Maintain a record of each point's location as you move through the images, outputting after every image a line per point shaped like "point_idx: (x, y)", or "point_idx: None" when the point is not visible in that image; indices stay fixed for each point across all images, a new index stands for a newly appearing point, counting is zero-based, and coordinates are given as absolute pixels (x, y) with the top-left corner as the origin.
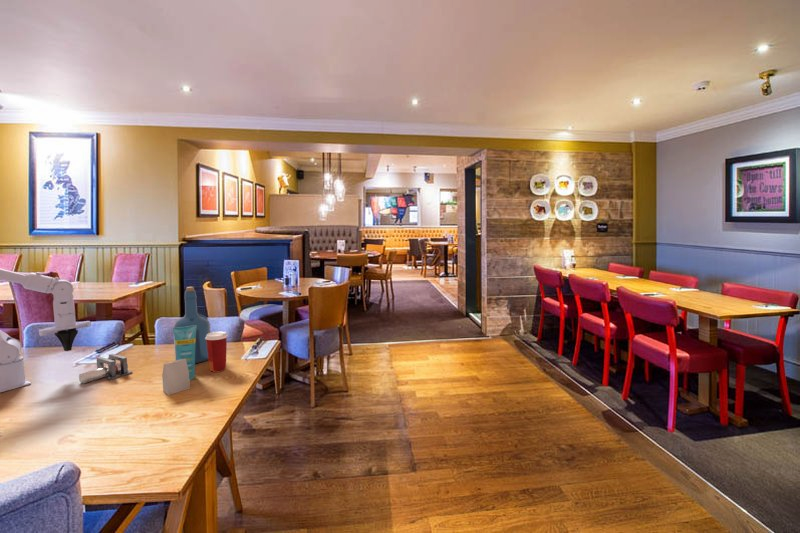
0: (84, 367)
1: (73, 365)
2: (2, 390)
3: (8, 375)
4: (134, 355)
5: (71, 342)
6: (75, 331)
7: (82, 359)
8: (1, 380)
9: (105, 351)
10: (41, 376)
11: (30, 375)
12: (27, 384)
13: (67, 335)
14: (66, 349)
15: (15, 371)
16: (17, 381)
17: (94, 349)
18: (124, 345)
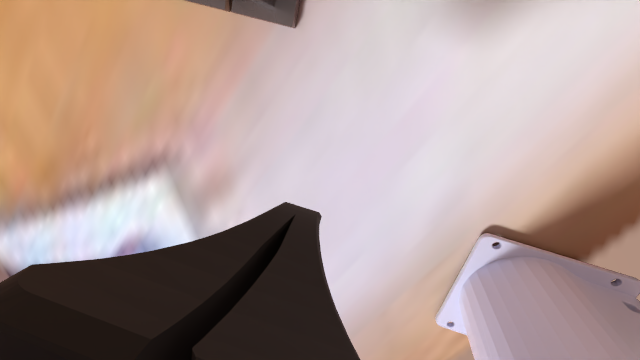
0: (233, 189)
1: None
2: (607, 275)
3: (619, 329)
4: (29, 96)
5: (249, 233)
6: (9, 313)
7: None
8: (636, 325)
9: None
10: (377, 275)
11: (376, 325)
12: (502, 237)
13: (254, 336)
14: (318, 224)
15: (596, 327)
16: (550, 274)
17: None
18: (10, 260)
